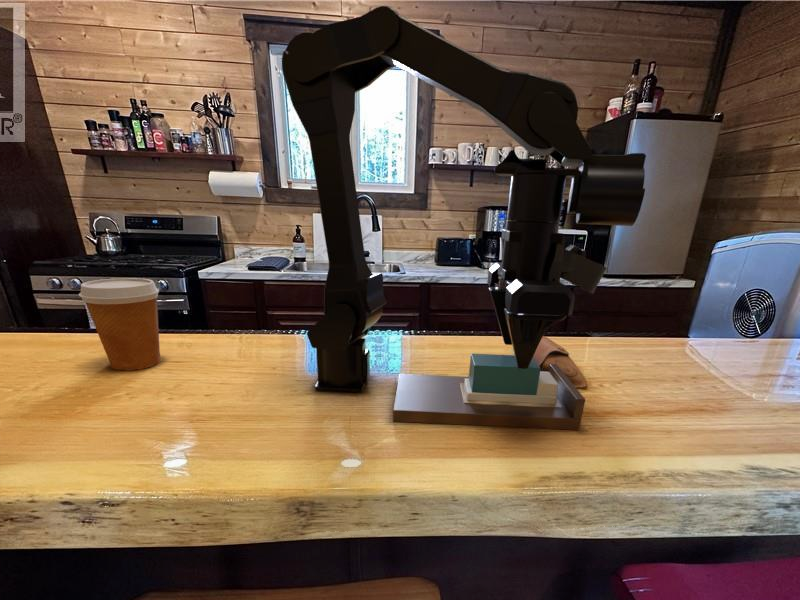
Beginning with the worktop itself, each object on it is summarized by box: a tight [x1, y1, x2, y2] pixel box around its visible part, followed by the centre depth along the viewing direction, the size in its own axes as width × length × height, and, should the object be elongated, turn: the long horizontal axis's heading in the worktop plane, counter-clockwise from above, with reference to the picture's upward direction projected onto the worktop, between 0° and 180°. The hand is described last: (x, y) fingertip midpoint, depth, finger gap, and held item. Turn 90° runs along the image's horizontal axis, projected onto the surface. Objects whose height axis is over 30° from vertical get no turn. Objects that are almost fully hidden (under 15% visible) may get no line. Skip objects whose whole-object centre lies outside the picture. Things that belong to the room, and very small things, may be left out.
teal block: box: [464, 353, 558, 404], centre depth 55 cm, size 11×5×5 cm, turn 89°
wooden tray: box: [392, 364, 586, 431], centre depth 56 cm, size 22×12×4 cm, turn 89°
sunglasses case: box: [533, 335, 588, 389], centre depth 71 cm, size 18×7×7 cm
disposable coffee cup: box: [78, 277, 161, 371], centre depth 63 cm, size 10×10×12 cm
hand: (514, 355), depth 54 cm, fingers open, 9 cm apart
